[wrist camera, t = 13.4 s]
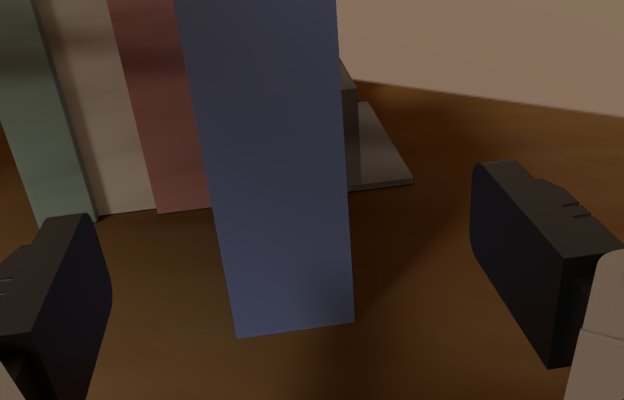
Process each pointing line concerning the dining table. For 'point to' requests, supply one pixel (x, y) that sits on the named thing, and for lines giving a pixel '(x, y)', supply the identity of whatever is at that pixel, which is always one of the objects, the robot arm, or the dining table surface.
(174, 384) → the dining table surface
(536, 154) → the dining table surface
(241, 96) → the boxed book
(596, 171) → the dining table surface
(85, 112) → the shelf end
